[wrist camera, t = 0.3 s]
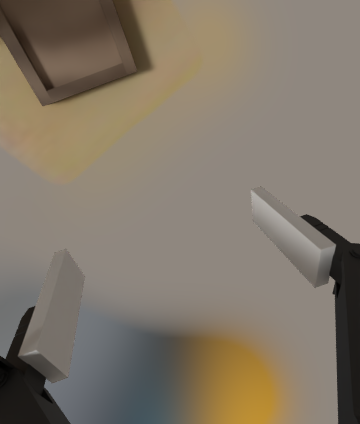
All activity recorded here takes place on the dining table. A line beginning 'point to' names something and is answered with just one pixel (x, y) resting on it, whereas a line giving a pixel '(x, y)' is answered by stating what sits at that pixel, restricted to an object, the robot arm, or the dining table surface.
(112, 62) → the walnut tray
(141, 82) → the dining table surface
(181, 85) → the dining table surface
